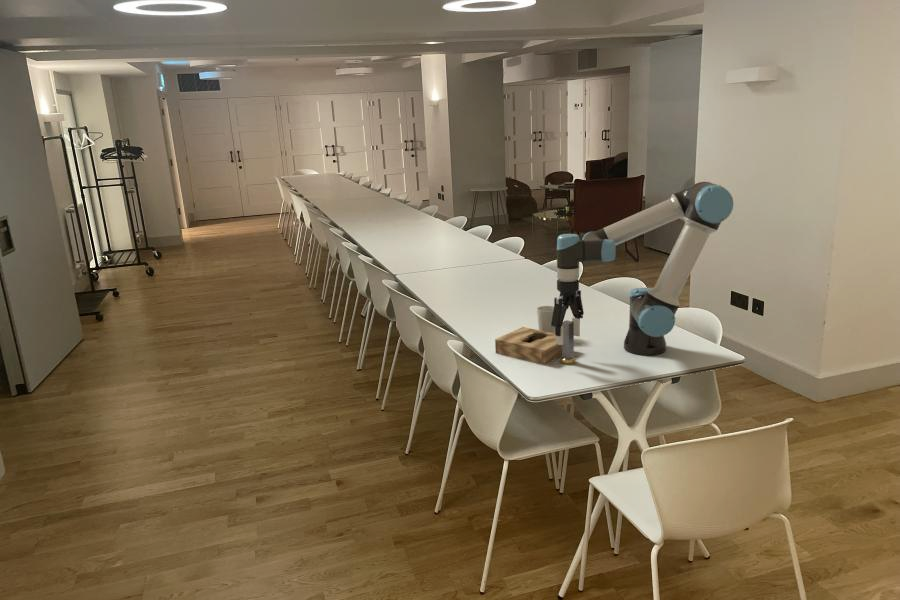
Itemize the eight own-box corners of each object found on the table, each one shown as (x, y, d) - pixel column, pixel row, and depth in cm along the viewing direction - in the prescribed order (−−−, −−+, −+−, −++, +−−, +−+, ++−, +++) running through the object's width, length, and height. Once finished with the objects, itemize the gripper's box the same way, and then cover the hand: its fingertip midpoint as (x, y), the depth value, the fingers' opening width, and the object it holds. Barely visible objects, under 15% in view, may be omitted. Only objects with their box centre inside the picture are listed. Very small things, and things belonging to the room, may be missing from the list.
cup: (542, 341, 259) (541, 312, 255) (533, 335, 266) (533, 307, 263) (560, 339, 261) (560, 309, 257) (552, 333, 268) (552, 304, 265)
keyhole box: (571, 350, 247) (571, 336, 246) (545, 365, 234) (544, 350, 233) (523, 340, 261) (523, 326, 260) (495, 353, 248) (495, 339, 247)
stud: (577, 361, 236) (577, 321, 232) (570, 365, 233) (570, 325, 229) (565, 358, 240) (565, 319, 236) (557, 362, 236) (557, 322, 232)
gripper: (575, 271, 239) (575, 329, 245) (540, 284, 222) (540, 346, 228) (594, 273, 234) (593, 333, 240) (559, 287, 217) (559, 351, 223)
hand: (567, 339), depth 234 cm, fingers open, 10 cm apart
